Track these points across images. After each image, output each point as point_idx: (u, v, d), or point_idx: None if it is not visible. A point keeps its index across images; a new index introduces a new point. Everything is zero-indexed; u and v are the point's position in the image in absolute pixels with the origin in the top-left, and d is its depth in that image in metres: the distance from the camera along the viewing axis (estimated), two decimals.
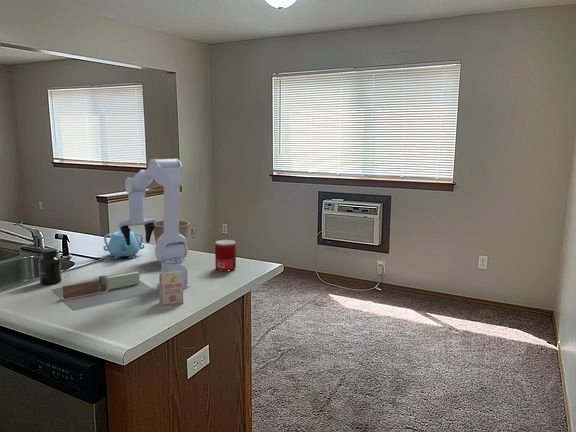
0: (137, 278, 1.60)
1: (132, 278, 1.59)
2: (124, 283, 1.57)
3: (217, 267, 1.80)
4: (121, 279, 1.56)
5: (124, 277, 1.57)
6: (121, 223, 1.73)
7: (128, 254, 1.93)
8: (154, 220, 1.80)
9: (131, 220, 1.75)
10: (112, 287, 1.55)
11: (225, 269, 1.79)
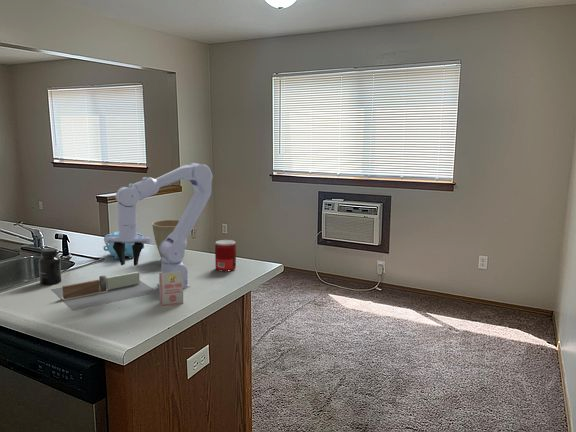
0: (137, 278, 1.60)
1: (132, 278, 1.59)
2: (124, 283, 1.57)
3: (217, 267, 1.80)
4: (121, 279, 1.56)
5: (124, 277, 1.57)
6: (107, 239, 1.50)
7: (128, 254, 1.93)
8: (147, 240, 1.50)
9: (119, 237, 1.49)
10: (112, 287, 1.55)
11: (225, 269, 1.79)
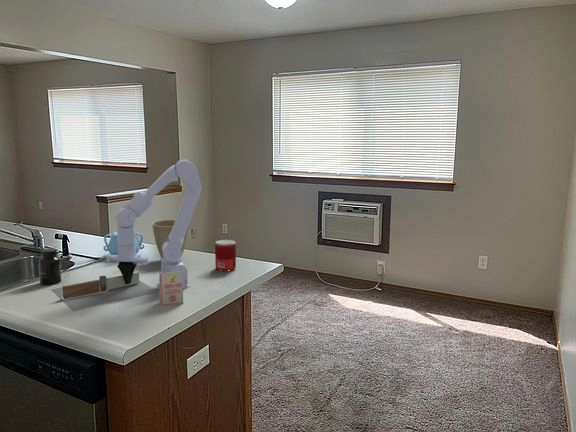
0: (137, 278, 1.60)
1: (132, 278, 1.59)
2: (123, 283, 1.57)
3: (217, 267, 1.80)
4: (120, 279, 1.56)
5: None
6: (108, 257, 1.55)
7: None
8: (142, 260, 1.53)
9: (118, 256, 1.54)
10: (112, 287, 1.55)
11: (225, 269, 1.79)
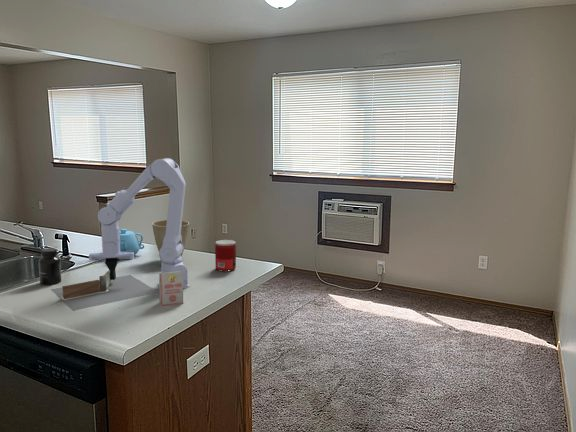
0: None
1: None
2: (110, 280, 1.60)
3: (217, 267, 1.80)
4: (109, 277, 1.59)
5: None
6: (91, 255, 1.58)
7: None
8: (130, 255, 1.59)
9: (102, 253, 1.58)
10: (107, 285, 1.56)
11: (225, 269, 1.79)
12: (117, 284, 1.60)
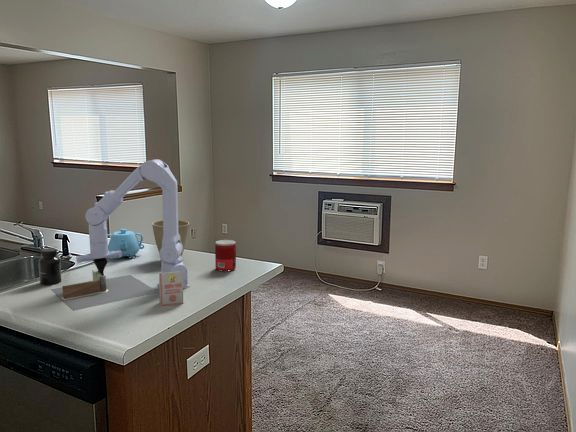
0: None
1: None
2: None
3: (217, 267, 1.80)
4: None
5: None
6: (80, 258, 1.54)
7: (128, 254, 1.93)
8: (119, 253, 1.61)
9: (92, 254, 1.56)
10: None
11: (225, 269, 1.79)
12: (117, 284, 1.60)
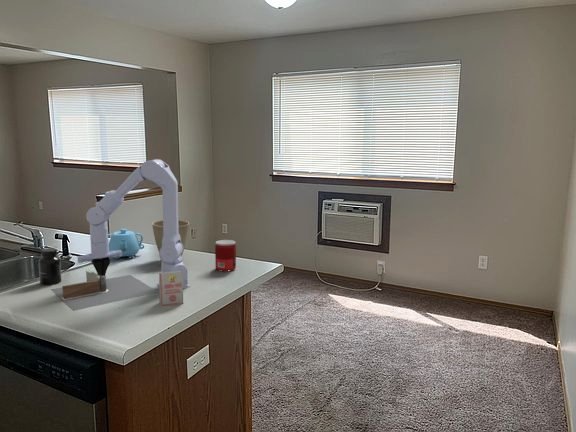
0: None
1: None
2: None
3: (217, 267, 1.80)
4: None
5: None
6: (82, 258, 1.54)
7: (128, 254, 1.93)
8: (120, 252, 1.62)
9: (93, 254, 1.56)
10: None
11: (225, 269, 1.79)
12: (117, 284, 1.60)
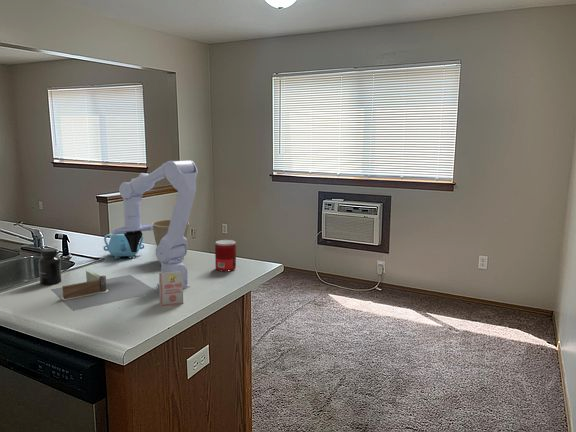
0: None
1: None
2: None
3: (217, 267, 1.80)
4: None
5: None
6: (116, 230, 1.63)
7: (128, 254, 1.93)
8: (151, 227, 1.71)
9: (127, 227, 1.65)
10: None
11: (225, 269, 1.79)
12: (117, 284, 1.60)
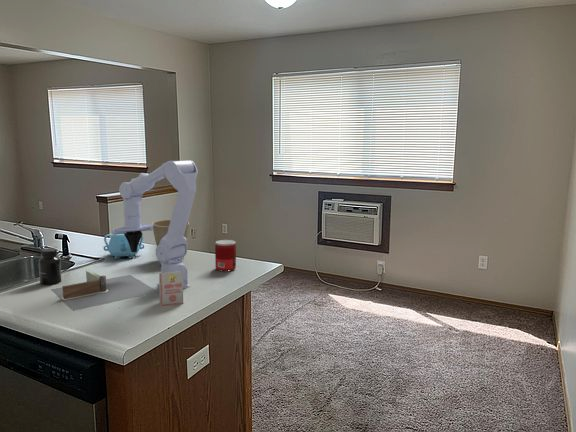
0: None
1: None
2: None
3: (217, 267, 1.80)
4: None
5: None
6: (116, 230, 1.63)
7: (128, 254, 1.93)
8: (151, 227, 1.71)
9: (127, 227, 1.65)
10: None
11: (225, 269, 1.79)
12: (117, 284, 1.60)
